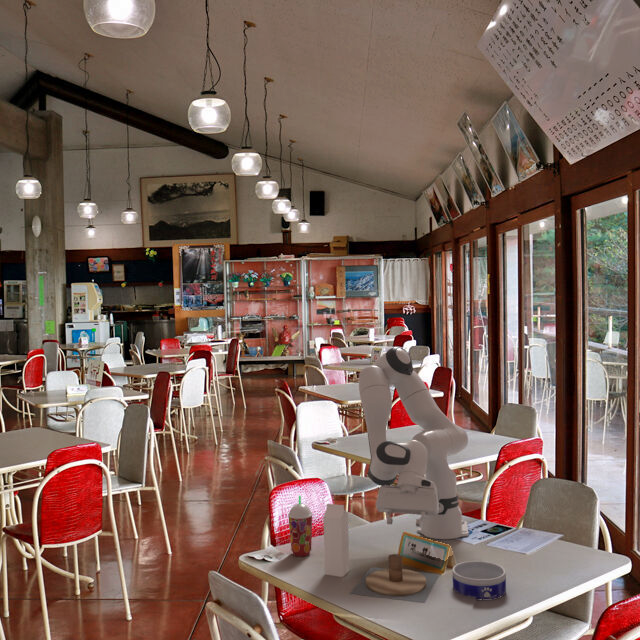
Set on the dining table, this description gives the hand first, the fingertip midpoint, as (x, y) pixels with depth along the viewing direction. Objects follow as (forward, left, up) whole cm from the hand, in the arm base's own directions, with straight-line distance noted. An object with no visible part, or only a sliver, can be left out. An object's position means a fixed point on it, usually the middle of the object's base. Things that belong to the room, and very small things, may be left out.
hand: (403, 524), depth 222 cm
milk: (+8, -20, -15) cm, 26 cm away
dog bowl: (+8, +24, -15) cm, 30 cm away
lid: (+12, 0, -14) cm, 19 cm away
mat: (+12, 0, -15) cm, 19 cm away
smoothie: (-6, -38, -15) cm, 41 cm away
